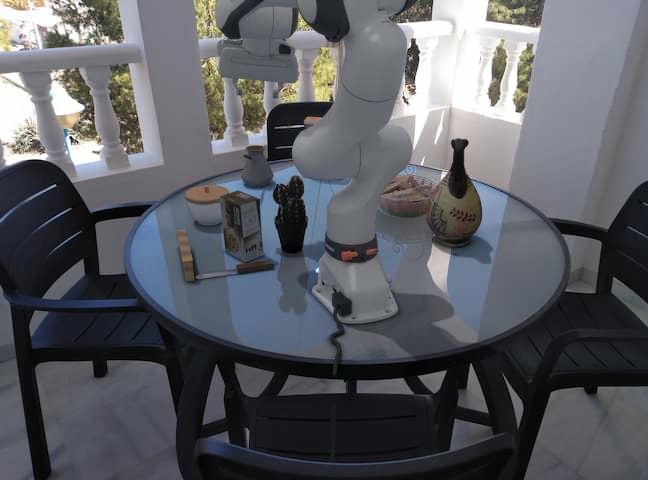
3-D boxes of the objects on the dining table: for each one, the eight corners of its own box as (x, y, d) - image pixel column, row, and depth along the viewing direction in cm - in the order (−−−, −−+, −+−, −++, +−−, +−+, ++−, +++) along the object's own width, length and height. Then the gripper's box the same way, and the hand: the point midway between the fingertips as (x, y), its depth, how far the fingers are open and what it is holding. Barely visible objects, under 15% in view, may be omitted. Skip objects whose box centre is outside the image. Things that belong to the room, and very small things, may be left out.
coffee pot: (245, 177, 196) (242, 136, 188) (276, 178, 195) (274, 137, 187) (230, 199, 177) (225, 154, 170) (264, 200, 176) (261, 156, 169)
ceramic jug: (425, 226, 161) (435, 126, 146) (477, 231, 158) (493, 130, 144) (420, 251, 147) (431, 143, 132) (478, 257, 144) (496, 148, 129)
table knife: (273, 268, 137) (272, 263, 136) (196, 280, 131) (195, 274, 130) (271, 264, 138) (270, 259, 138) (195, 276, 133) (194, 270, 132)
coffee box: (264, 255, 143) (260, 198, 135) (245, 263, 139) (240, 205, 131) (243, 244, 148) (238, 189, 141) (224, 251, 144) (218, 195, 136)
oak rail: (195, 280, 131) (192, 260, 128) (185, 281, 130) (182, 261, 128) (188, 247, 146) (185, 228, 143) (179, 248, 145) (176, 229, 143)
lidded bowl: (206, 209, 169) (202, 176, 164) (239, 217, 164) (236, 183, 159) (179, 224, 159) (174, 189, 154) (213, 233, 154) (210, 197, 149)
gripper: (216, 41, 128) (216, 97, 136) (301, 49, 132) (296, 103, 141) (217, 33, 133) (216, 88, 141) (299, 41, 137) (294, 94, 146)
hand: (257, 96), depth 141 cm, fingers open, 8 cm apart
